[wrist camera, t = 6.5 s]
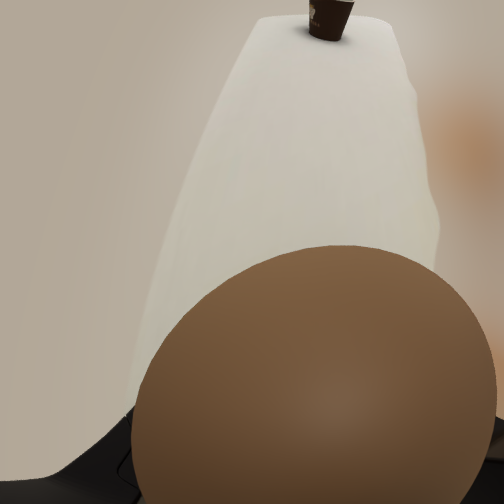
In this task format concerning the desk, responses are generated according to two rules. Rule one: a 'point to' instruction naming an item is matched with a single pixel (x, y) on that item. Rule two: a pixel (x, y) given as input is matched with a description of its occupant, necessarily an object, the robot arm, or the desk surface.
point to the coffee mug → (329, 18)
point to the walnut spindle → (318, 388)
